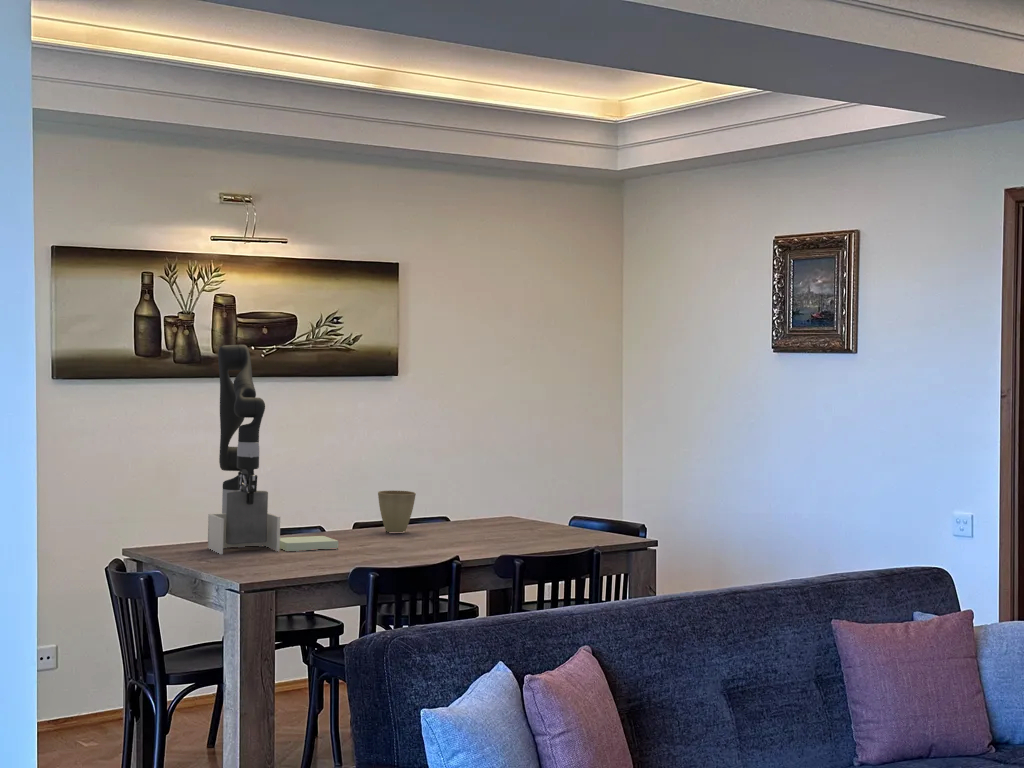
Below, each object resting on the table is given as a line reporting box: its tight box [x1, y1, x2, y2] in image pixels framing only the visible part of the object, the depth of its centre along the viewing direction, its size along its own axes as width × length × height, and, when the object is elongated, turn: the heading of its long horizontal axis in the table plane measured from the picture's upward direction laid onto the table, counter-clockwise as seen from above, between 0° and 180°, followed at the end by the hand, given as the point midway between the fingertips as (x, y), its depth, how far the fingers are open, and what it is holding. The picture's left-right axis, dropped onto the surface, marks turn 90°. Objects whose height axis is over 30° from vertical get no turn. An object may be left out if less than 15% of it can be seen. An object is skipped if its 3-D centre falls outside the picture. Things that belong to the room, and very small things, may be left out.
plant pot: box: [377, 490, 417, 533], centre depth 485 cm, size 15×15×16 cm
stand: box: [280, 535, 339, 552], centre depth 437 cm, size 14×19×3 cm
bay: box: [207, 512, 281, 555], centre depth 428 cm, size 14×21×12 cm
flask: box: [226, 485, 269, 545], centre depth 426 cm, size 15×6×20 cm, turn 129°
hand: (246, 503), depth 426 cm, fingers closed on flask, 6 cm apart
